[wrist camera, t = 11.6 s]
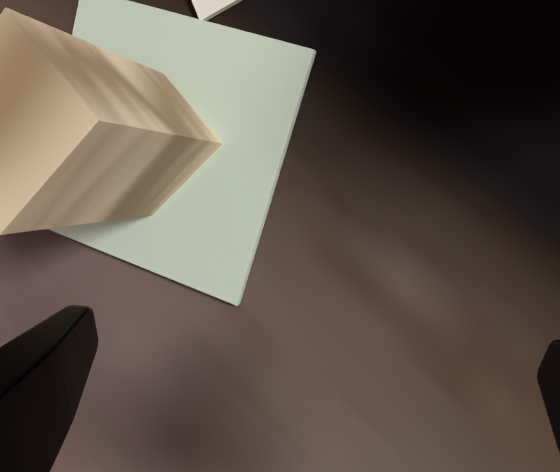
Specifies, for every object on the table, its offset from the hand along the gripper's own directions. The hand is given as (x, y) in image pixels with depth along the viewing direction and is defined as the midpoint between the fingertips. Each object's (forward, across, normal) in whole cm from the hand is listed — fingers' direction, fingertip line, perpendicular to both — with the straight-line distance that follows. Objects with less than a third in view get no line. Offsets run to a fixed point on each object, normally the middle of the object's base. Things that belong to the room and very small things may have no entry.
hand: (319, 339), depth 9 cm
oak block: (+14, +7, +2) cm, 16 cm away
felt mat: (+15, +7, +2) cm, 17 cm away
